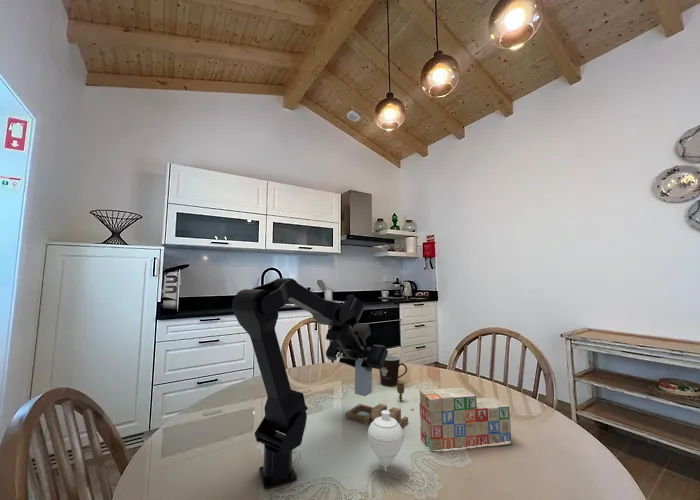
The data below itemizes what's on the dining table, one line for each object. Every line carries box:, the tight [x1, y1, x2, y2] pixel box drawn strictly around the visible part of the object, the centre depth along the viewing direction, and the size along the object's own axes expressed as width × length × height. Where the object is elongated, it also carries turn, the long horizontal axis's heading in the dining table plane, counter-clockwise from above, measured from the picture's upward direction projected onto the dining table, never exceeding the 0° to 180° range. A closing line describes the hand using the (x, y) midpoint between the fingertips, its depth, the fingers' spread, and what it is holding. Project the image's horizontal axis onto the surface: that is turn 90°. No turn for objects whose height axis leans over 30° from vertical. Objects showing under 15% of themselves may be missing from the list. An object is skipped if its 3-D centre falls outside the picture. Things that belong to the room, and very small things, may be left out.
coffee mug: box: [378, 354, 408, 388], centre depth 117 cm, size 12×9×10 cm
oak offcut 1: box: [370, 402, 388, 424], centre depth 86 cm, size 5×2×4 cm, turn 146°
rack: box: [344, 403, 409, 429], centre depth 86 cm, size 8×16×2 cm, turn 56°
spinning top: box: [367, 409, 405, 472], centre depth 64 cm, size 8×8×12 cm
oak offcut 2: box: [388, 406, 402, 422], centre depth 84 cm, size 5×2×4 cm, turn 146°
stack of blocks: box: [419, 387, 512, 451], centre depth 76 cm, size 21×6×12 cm, turn 100°
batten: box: [354, 359, 373, 397], centre depth 90 cm, size 4×4×12 cm
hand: (365, 369), depth 91 cm, fingers closed on batten, 3 cm apart
